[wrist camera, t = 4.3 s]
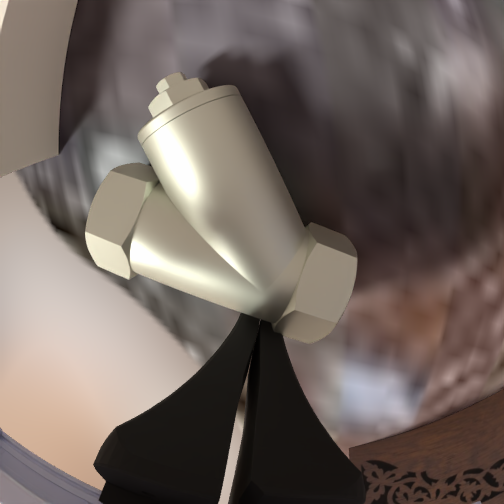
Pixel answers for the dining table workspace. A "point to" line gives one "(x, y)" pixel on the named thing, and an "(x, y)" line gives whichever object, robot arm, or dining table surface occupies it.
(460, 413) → the tissue box cover
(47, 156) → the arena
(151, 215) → the pipe fitting
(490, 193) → the dining table surface
